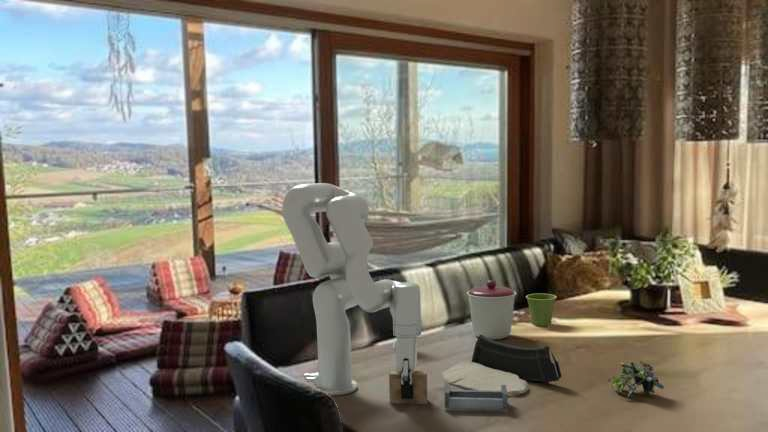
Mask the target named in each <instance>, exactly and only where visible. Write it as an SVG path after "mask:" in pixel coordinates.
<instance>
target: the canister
mask: <svg viewBox="0 0 768 432" xmlns="http://www.w3.org/2000/svg"><path fill="white" fill-rule="evenodd" d="M466 295H467V296H468V303H469V310H470V318H471V324H472V326H471V327H472V330H473V333H474V335H475V336H476V337H477V338H478V337H479V336H480V335H483V336H484V337H486V338H488V339H491V340H493V341H496V340H503V339H505V338H507V337H509V335H510V334H511V332H512V327H513V326H512V324H513V316H514V307H515V297H516V295H517V292H516V290H513V289H512V288H511V287H510V288H509V287H506V286H499V285H497V282H496V281H495V280H493V279H491V280H490V279H489V280H487V281H486V284H485V285H482V286H480V285H479V286H475V287H472V288H471V289H469V290H468V291H466Z"/></svg>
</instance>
